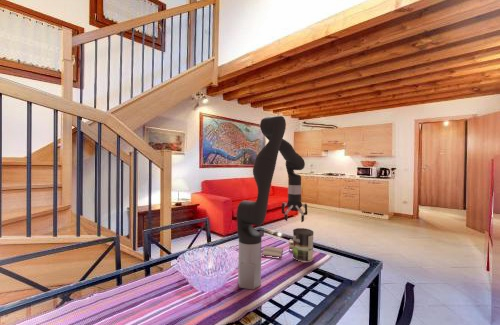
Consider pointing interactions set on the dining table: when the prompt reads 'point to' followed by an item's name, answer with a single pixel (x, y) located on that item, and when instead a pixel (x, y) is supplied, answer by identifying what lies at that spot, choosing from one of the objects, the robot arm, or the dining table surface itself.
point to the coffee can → (303, 244)
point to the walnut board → (272, 252)
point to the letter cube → (291, 244)
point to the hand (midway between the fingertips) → (294, 221)
